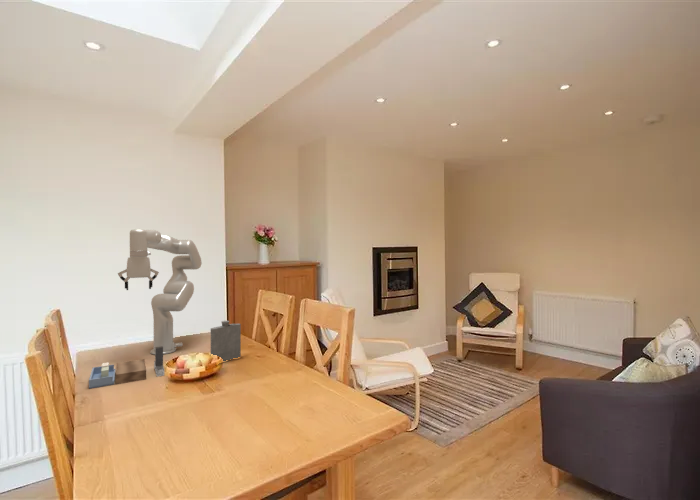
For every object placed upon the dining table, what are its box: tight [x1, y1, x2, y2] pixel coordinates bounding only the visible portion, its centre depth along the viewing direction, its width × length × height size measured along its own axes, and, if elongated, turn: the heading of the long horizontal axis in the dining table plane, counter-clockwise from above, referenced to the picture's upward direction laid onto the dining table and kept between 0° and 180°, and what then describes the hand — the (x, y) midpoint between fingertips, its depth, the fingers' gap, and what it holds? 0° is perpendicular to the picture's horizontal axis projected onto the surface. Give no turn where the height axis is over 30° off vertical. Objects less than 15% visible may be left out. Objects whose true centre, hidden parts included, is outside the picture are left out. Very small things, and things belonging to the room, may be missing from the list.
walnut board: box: [115, 358, 147, 385], centre depth 159 cm, size 11×18×4 cm, turn 32°
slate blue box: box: [88, 364, 116, 389], centre depth 154 cm, size 8×18×4 cm, turn 32°
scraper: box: [153, 346, 165, 378], centre depth 165 cm, size 3×16×11 cm, turn 32°
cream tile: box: [101, 361, 110, 368], centre depth 157 cm, size 5×5×2 cm
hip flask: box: [210, 320, 242, 361], centre depth 180 cm, size 16×4×20 cm, turn 139°
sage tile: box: [101, 367, 109, 378], centre depth 151 cm, size 5×5×2 cm
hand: (138, 289), depth 176 cm, fingers open, 9 cm apart
